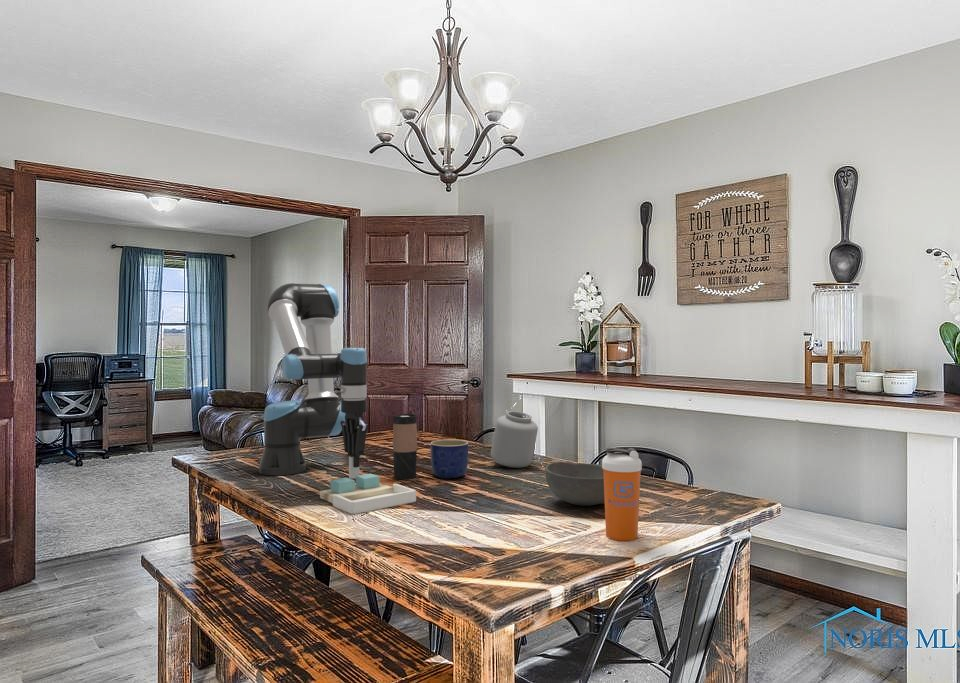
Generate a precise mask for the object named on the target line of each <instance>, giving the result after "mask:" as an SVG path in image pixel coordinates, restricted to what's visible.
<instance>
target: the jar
mask: <svg viewBox="0 0 960 683" xmlns="http://www.w3.org/2000/svg"><path fill="white" fill-rule="evenodd" d="M521 396H522V395H519V400H521V399H522V398H521ZM516 404H517V402H515V404H513V406H512V407H513V408H514V407H515V406H516ZM525 405H527V403H525ZM493 431H494V432H493V437H492V443H491V450H490V457H491V459H492V461H494V462H495V463H496V464H498V465H501V466H503V467H506V468H513V469H523V468H527V467H529V466H530V465H531V464H532V462H533V457H534V452H535V447H536V440H537V436H538V431H539V427H538V425H537V423H536V422H535V421H533V420H532V415H531V414H528V413H525V412H523V411H522V412H521V411H516V410H515V411H514V410H510V411H508V410H507V409H506V412H505V415H504V414H503V415H502V416H499V417H498V418H497V419H496V421H495V427H494V430H493ZM539 459H541V458H540V457H538V462H539V461H540V460H539ZM540 464H541V465H542V464H543V463H542V462H541V463H540ZM542 467H544V465H542Z"/></svg>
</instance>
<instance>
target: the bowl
mask: <svg viewBox="0 0 960 683" xmlns="http://www.w3.org/2000/svg"><path fill="white" fill-rule="evenodd" d="M544 469H545V470H544V471H545V472H544V474H545V480H546V484H547V485H548V487H549V489H550V491H551V492H552V494H553V495H555V497H556V498H559V500H562V501H563V502H565V503H567V504H571V505H575V506H583V507H584V506H585V507H588V506H589V507H590V506H595V505H599V504H603V503H605V500H604V478H603V469H602V464H600V463H599V464H597V463H584V462H579V463H578V462H576V463H575V462H574V463H573V462H563V461H555V462H551V463H548V464H547V465H546V466H545V468H544Z"/></svg>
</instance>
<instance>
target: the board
mask: <svg viewBox="0 0 960 683" xmlns="http://www.w3.org/2000/svg"><path fill="white" fill-rule="evenodd" d="M389 493H393V486H391V485H388V484H384V483H382V482H380V487H375V488H369V489H362V488H359V487H357V486H356V484H355V491H352V492H347V493H341V494H338V493H335V492H333V491H331V488H329V489H323V490H319V498H320V499H322V500H323V501H325V502H329V503H330V504H333V495H334V494H337V495H340V496H342V497H344V498H347V499H349V500H357V499H362V498H368V497H373V496H378V495H384V494H389Z"/></svg>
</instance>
